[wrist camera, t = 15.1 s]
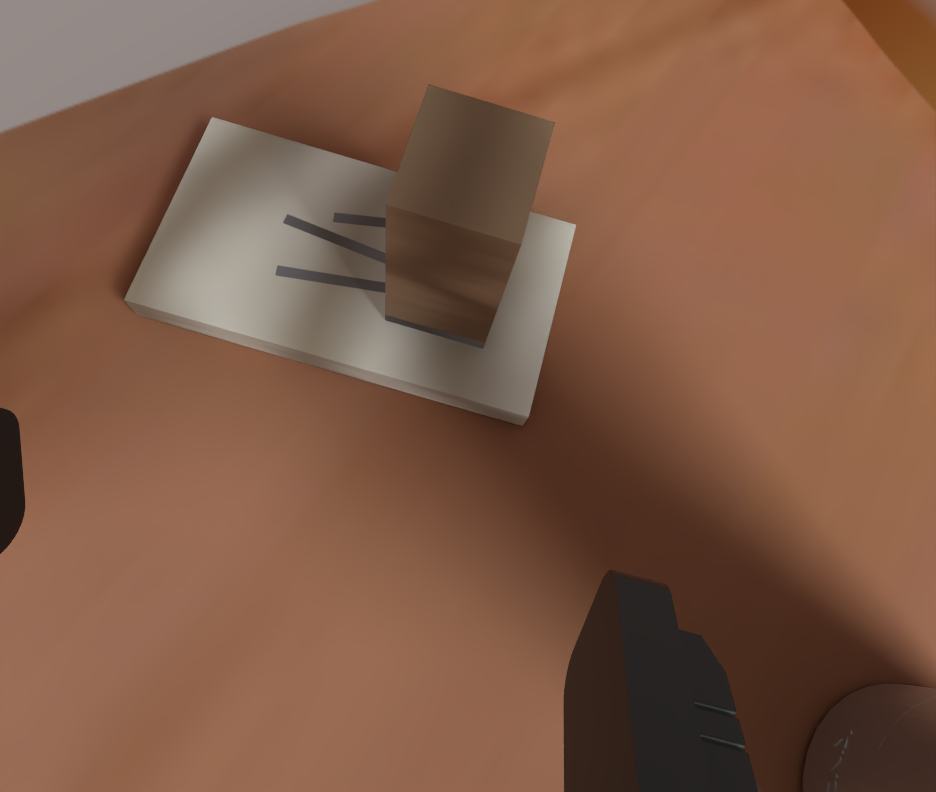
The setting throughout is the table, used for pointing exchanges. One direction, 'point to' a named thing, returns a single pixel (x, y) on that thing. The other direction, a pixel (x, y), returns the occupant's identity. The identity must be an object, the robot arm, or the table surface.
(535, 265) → the board
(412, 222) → the block
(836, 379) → the table surface
